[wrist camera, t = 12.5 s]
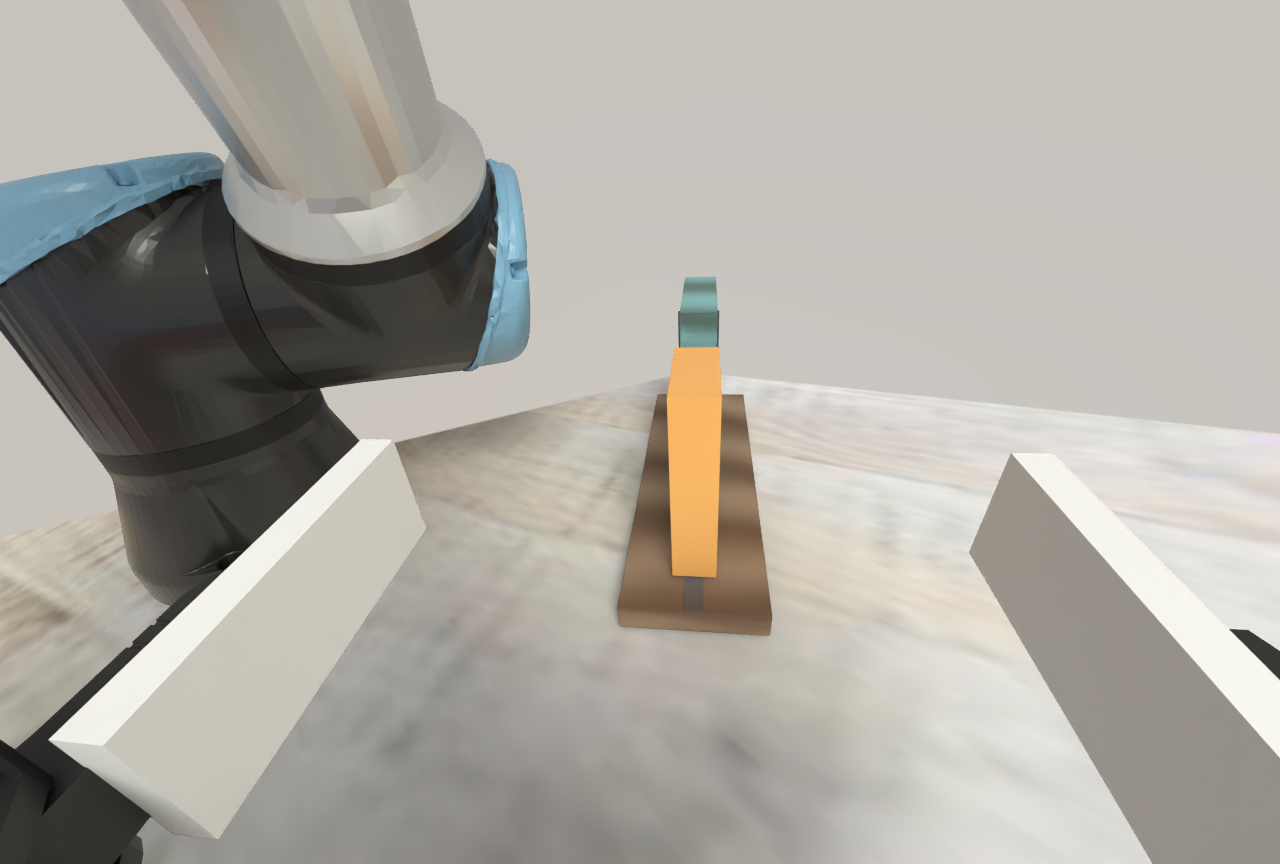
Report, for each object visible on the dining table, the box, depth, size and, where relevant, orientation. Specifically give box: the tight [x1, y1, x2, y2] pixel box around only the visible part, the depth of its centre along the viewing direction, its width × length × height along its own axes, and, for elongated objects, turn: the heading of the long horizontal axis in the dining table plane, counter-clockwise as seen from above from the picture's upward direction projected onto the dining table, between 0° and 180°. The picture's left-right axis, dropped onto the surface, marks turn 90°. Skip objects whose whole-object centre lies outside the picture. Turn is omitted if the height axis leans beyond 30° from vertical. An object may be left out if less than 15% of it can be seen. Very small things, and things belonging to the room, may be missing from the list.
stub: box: [667, 347, 722, 578], centre depth 27 cm, size 6×2×11 cm, turn 173°
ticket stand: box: [617, 277, 772, 635], centre depth 34 cm, size 25×8×13 cm, turn 173°
